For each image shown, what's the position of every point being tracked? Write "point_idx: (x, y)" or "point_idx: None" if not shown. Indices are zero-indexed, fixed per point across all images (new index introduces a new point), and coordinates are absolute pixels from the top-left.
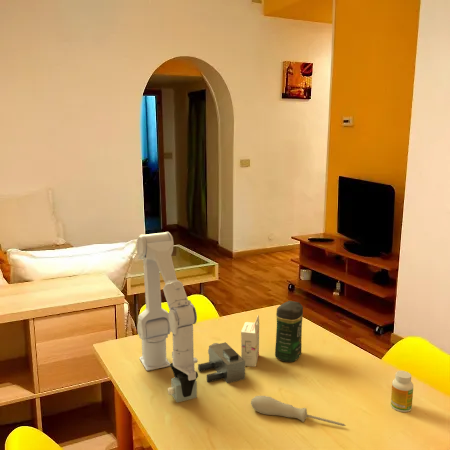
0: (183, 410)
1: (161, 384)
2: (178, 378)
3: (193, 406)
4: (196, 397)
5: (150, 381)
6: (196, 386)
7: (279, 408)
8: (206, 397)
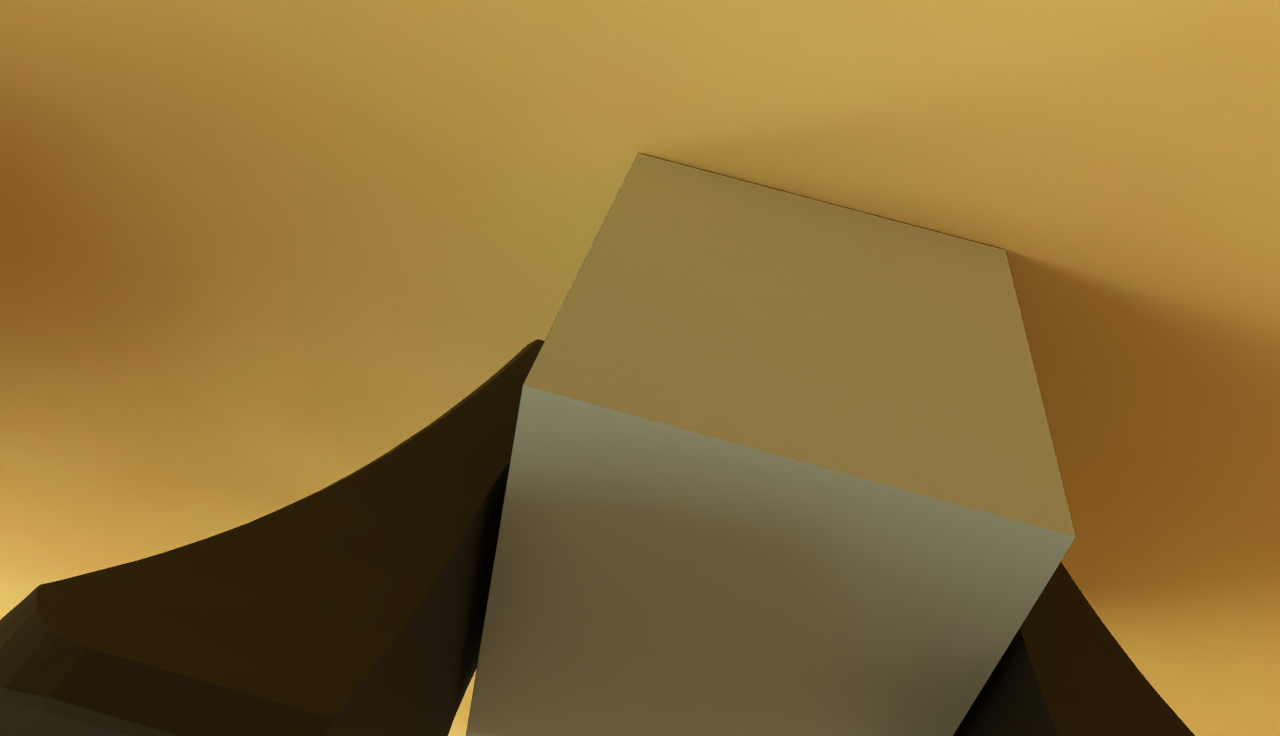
0: (1141, 649)
1: (166, 449)
2: (551, 723)
3: (1208, 482)
4: (1004, 261)
5: (12, 510)
6: (1044, 425)
7: None
8: (1202, 66)
